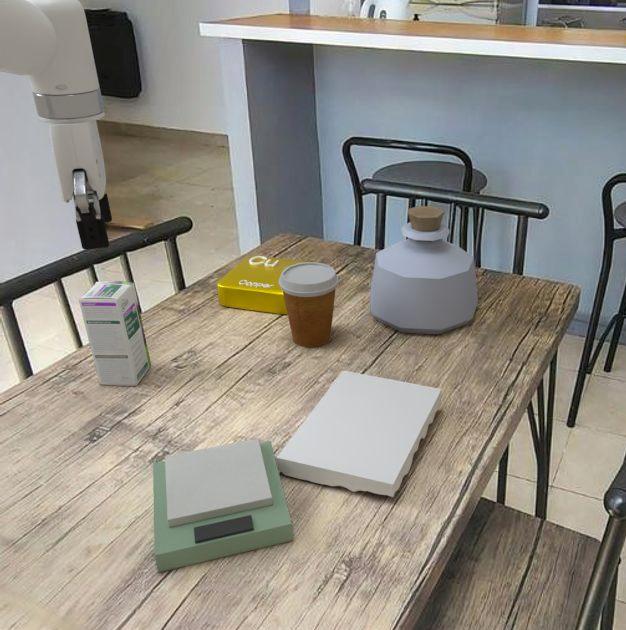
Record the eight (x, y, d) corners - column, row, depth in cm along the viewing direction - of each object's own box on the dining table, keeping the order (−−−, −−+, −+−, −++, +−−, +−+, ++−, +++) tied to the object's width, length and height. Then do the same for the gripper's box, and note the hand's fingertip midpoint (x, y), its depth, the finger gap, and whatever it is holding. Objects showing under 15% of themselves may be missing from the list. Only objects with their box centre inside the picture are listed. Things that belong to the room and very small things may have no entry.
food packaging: (393, 506, 80) (441, 408, 97) (393, 484, 79) (441, 389, 95) (279, 478, 84) (343, 389, 101) (276, 457, 83) (342, 370, 99)
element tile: (214, 306, 124) (211, 282, 121) (250, 273, 137) (248, 251, 134) (292, 316, 121) (290, 292, 119) (321, 282, 134) (320, 259, 132)
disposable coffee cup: (317, 319, 120) (314, 256, 115) (351, 339, 114) (350, 274, 109) (271, 337, 114) (266, 271, 109) (305, 359, 108) (301, 291, 103)
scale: (158, 572, 70) (152, 547, 69) (156, 479, 83) (151, 455, 81) (293, 540, 75) (291, 516, 73) (272, 456, 87) (270, 433, 85)
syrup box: (137, 386, 100) (120, 298, 93) (97, 385, 100) (77, 297, 93) (152, 366, 105) (136, 280, 98) (113, 365, 105) (95, 279, 99)
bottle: (350, 298, 128) (348, 201, 119) (442, 280, 136) (446, 188, 127) (396, 347, 112) (397, 240, 103) (496, 324, 120) (505, 222, 111)
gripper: (44, 93, 90) (73, 216, 98) (26, 122, 76) (61, 262, 84) (105, 91, 93) (129, 211, 101) (99, 118, 78) (126, 255, 86)
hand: (98, 234), depth 92 cm, fingers open, 9 cm apart
